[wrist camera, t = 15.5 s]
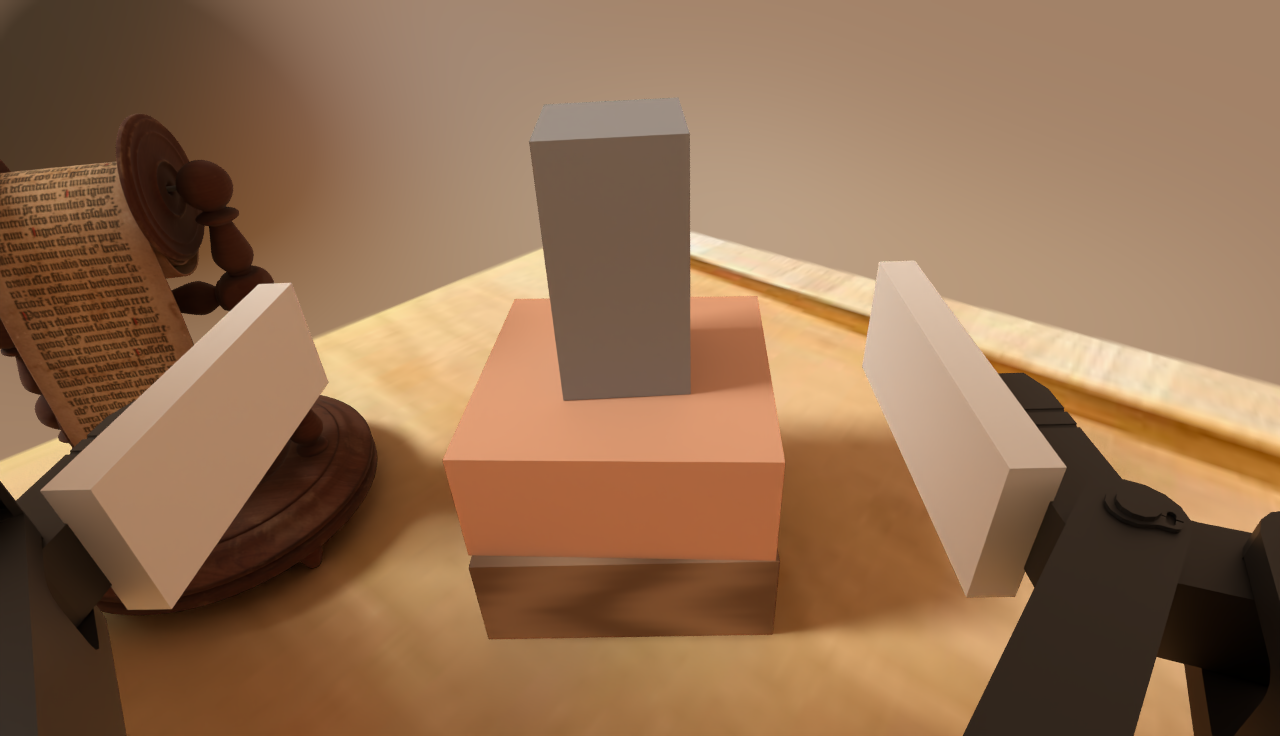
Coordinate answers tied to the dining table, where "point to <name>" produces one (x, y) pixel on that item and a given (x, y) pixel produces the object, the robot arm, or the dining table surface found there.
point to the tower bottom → (623, 596)
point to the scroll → (158, 335)
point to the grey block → (616, 244)
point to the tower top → (622, 451)
